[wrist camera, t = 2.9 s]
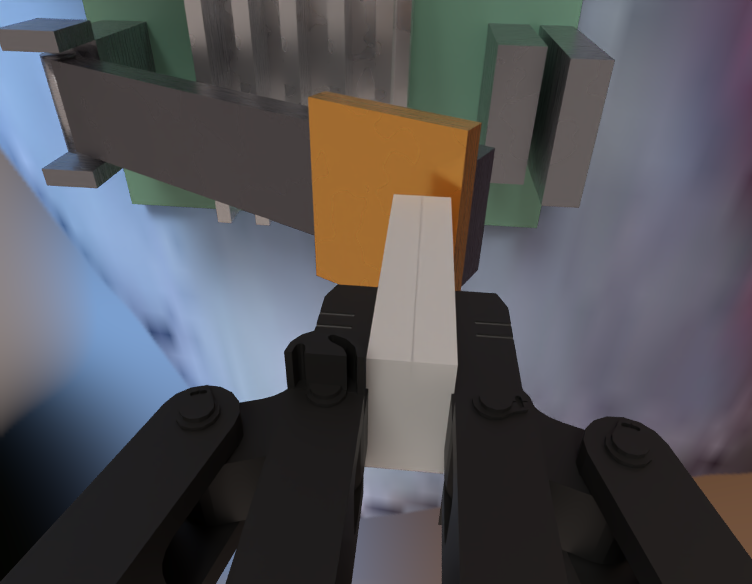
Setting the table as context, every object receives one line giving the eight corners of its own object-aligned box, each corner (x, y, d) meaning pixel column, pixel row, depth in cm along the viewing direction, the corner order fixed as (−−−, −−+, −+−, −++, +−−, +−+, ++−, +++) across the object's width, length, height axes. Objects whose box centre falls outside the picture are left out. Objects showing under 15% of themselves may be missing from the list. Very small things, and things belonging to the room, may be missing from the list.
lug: (488, 23, 27) (503, 55, 21) (573, 26, 27) (614, 60, 21) (474, 142, 31) (483, 202, 24) (549, 146, 31) (578, 207, 24)
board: (69, -110, 27) (55, -111, 26) (596, -99, 25) (602, -99, 24) (140, 196, 36) (132, 203, 35) (534, 218, 34) (537, 227, 33)
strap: (57, 26, 24) (8, 33, 23) (501, 110, 15) (468, 131, 14) (93, 159, 28) (53, 172, 26) (475, 294, 18) (446, 326, 17)
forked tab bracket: (97, 2, 29) (-5, 28, 22) (143, 4, 29) (53, 31, 22) (127, 130, 32) (47, 185, 26) (167, 132, 32) (97, 188, 26)
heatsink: (207, -57, 27) (160, -51, 22) (416, -51, 26) (411, -44, 22) (237, 180, 33) (206, 221, 29) (404, 189, 33) (398, 233, 28)
